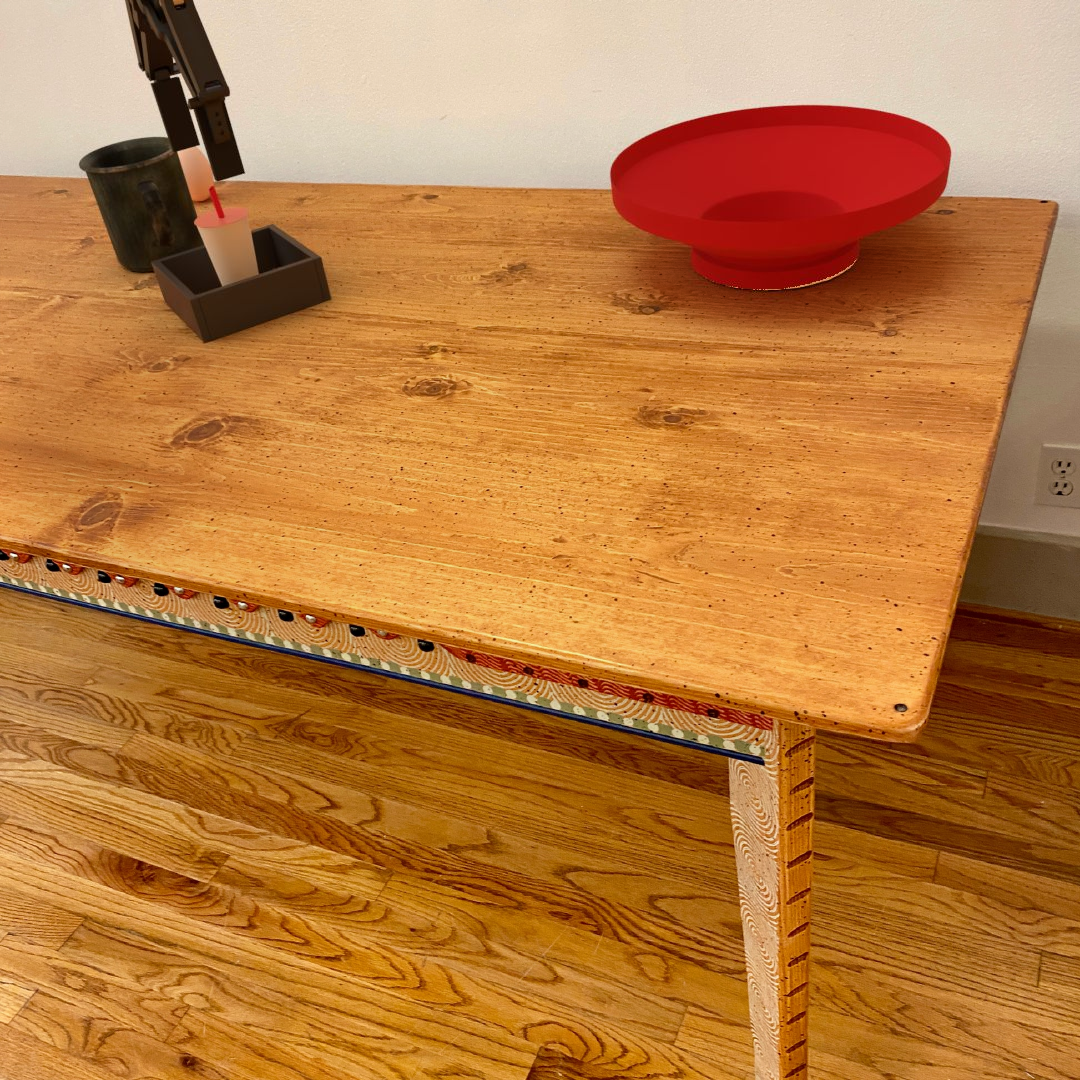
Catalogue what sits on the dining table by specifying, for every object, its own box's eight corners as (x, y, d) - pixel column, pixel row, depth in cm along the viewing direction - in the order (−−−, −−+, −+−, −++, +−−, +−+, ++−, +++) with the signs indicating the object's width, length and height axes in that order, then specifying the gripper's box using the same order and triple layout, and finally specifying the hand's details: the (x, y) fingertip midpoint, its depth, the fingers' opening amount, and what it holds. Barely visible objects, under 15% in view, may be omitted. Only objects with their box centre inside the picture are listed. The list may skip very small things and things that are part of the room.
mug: (197, 230, 132) (166, 129, 125) (228, 265, 122) (196, 157, 115) (108, 255, 129) (70, 153, 122) (132, 293, 118) (92, 184, 111)
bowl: (680, 195, 122) (677, 103, 116) (965, 208, 110) (977, 105, 104) (567, 311, 101) (555, 206, 95) (903, 344, 89) (913, 225, 83)
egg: (177, 207, 141) (158, 149, 136) (195, 194, 144) (178, 137, 140) (208, 206, 140) (190, 148, 135) (226, 193, 143) (209, 136, 139)
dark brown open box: (204, 343, 105) (189, 300, 103) (164, 301, 115) (150, 261, 112) (331, 298, 110) (321, 256, 108) (283, 263, 120) (272, 223, 118)
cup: (237, 316, 110) (201, 199, 103) (211, 304, 113) (174, 190, 106) (281, 296, 112) (249, 181, 105) (255, 285, 116) (222, 173, 109)
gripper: (218, -94, 84) (290, 178, 97) (134, -103, 102) (204, 127, 115) (123, -75, 82) (210, 202, 94) (54, -87, 99) (135, 147, 112)
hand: (207, 162), depth 104 cm, fingers open, 13 cm apart
